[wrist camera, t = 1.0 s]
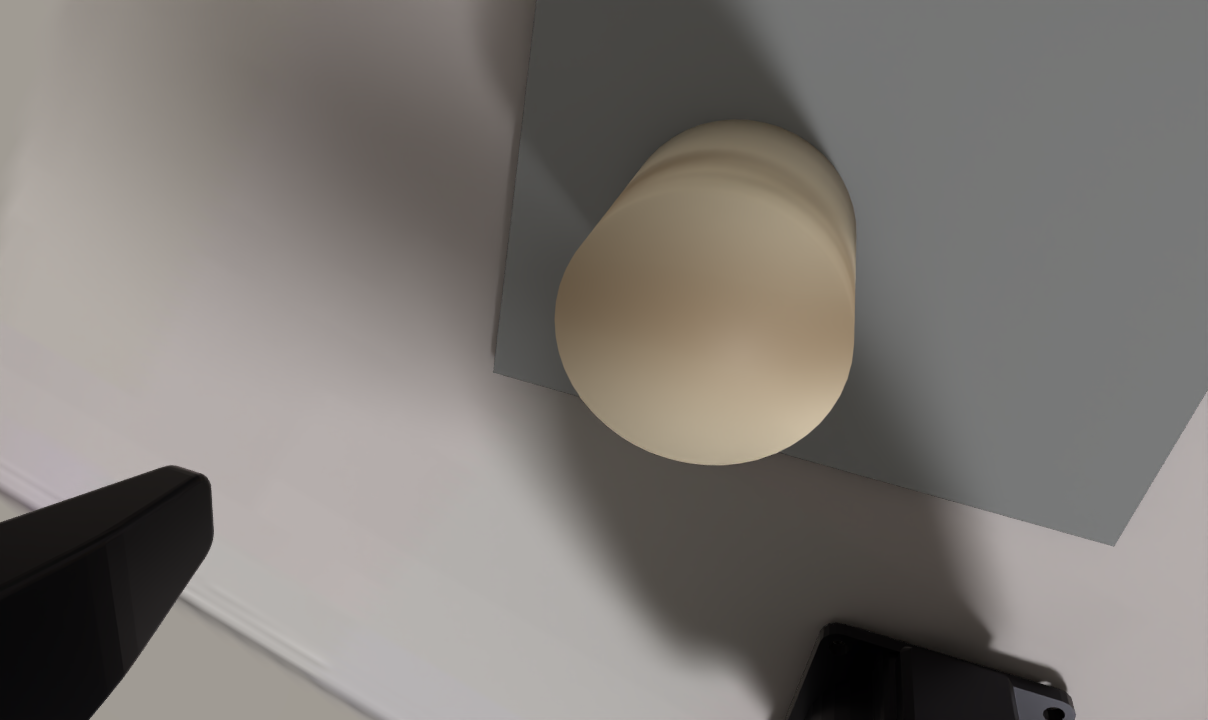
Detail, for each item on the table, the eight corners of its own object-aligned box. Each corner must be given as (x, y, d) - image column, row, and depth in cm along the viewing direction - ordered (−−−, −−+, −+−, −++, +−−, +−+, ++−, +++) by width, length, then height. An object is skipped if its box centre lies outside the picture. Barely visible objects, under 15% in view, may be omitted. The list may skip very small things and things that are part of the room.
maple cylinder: (818, 366, 20) (805, 498, 16) (604, 309, 21) (537, 421, 17) (889, 151, 18) (897, 238, 13) (644, 94, 18) (577, 161, 14)
